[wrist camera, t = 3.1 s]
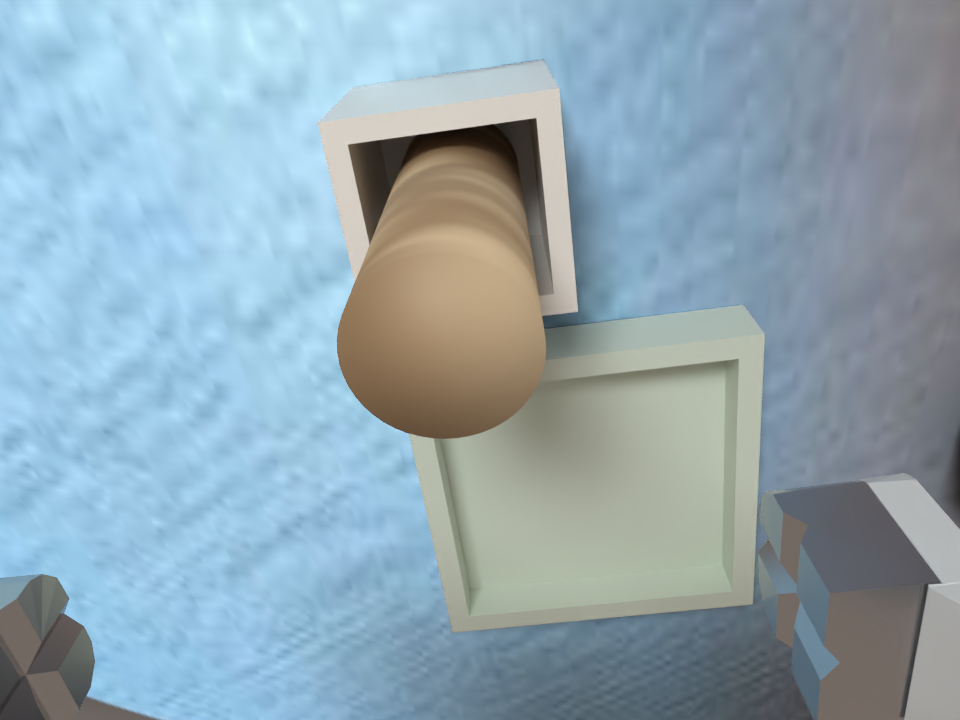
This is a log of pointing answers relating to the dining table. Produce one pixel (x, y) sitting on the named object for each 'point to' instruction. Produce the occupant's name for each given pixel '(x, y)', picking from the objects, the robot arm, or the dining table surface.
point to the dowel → (447, 293)
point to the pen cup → (447, 106)
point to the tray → (608, 478)
